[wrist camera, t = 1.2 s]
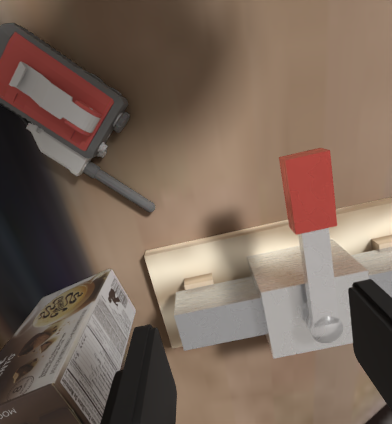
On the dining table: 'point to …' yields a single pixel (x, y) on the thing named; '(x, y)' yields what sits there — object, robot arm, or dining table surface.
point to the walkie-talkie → (62, 105)
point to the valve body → (274, 301)
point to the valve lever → (314, 235)
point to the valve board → (254, 253)
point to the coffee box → (66, 354)
